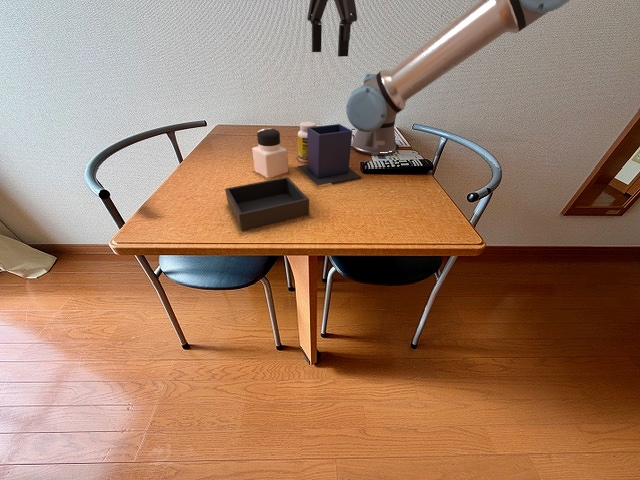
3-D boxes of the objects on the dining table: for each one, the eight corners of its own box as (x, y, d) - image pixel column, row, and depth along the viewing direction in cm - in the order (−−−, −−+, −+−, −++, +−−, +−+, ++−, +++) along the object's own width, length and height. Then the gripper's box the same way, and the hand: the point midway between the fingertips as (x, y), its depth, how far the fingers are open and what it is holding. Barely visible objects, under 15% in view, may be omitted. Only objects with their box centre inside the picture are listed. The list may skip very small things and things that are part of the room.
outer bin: (288, 193, 74) (287, 176, 71) (309, 216, 65) (309, 199, 62) (228, 205, 68) (224, 188, 65) (242, 233, 59) (238, 215, 57)
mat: (336, 161, 92) (336, 159, 92) (361, 178, 82) (361, 176, 82) (296, 168, 87) (296, 166, 86) (317, 187, 77) (317, 185, 77)
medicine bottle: (288, 173, 83) (286, 131, 76) (267, 180, 80) (263, 136, 72) (274, 165, 88) (271, 125, 80) (254, 171, 84) (249, 129, 77)
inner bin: (336, 164, 88) (339, 123, 81) (348, 172, 83) (352, 130, 76) (307, 169, 85) (307, 127, 77) (318, 179, 80) (319, 135, 72)
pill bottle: (301, 164, 89) (301, 127, 83) (295, 156, 94) (294, 121, 87) (320, 161, 91) (321, 125, 84) (313, 154, 96) (313, 120, 89)
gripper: (293, -49, 73) (296, 50, 86) (350, -69, 56) (343, 58, 69) (319, -46, 76) (317, 50, 89) (380, -64, 59) (368, 57, 72)
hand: (329, 54), depth 79 cm, fingers open, 13 cm apart
